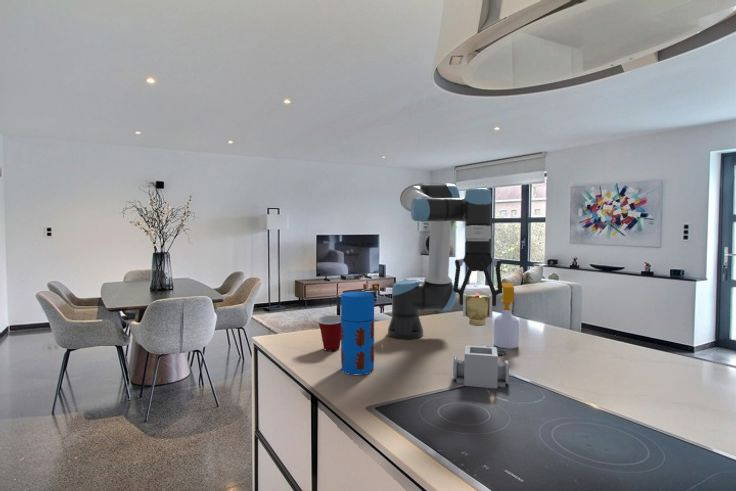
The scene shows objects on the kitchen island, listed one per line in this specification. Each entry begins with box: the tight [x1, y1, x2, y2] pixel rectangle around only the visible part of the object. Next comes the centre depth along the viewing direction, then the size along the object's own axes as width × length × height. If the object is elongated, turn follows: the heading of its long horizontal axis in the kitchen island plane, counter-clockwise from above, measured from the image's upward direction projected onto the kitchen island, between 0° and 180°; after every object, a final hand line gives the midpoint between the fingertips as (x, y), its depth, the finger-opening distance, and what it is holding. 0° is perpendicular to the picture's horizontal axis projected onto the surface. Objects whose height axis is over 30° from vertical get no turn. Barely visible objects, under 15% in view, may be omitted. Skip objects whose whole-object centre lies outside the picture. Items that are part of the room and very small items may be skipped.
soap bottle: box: [493, 282, 520, 350], centre depth 169 cm, size 9×9×25 cm
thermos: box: [340, 291, 375, 375], centre depth 141 cm, size 11×11×25 cm
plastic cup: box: [316, 314, 341, 351], centre depth 165 cm, size 11×11×12 cm
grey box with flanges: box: [452, 344, 510, 389], centre depth 131 cm, size 16×9×10 cm, turn 76°
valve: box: [465, 292, 489, 327], centre depth 131 cm, size 7×7×9 cm
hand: (477, 315), depth 131 cm, fingers closed on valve, 7 cm apart
